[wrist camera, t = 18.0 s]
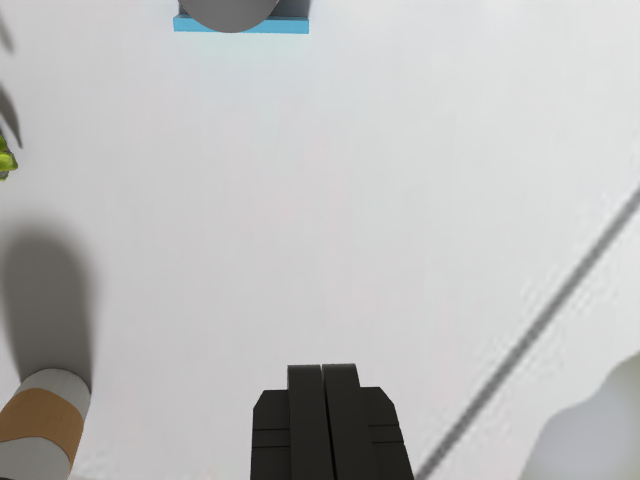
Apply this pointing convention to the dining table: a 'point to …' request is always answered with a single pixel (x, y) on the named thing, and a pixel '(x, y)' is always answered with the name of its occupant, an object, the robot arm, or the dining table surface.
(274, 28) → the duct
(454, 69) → the dining table surface
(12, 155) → the green leafy clump
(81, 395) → the coffee cup
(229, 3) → the grey cylinder white band
